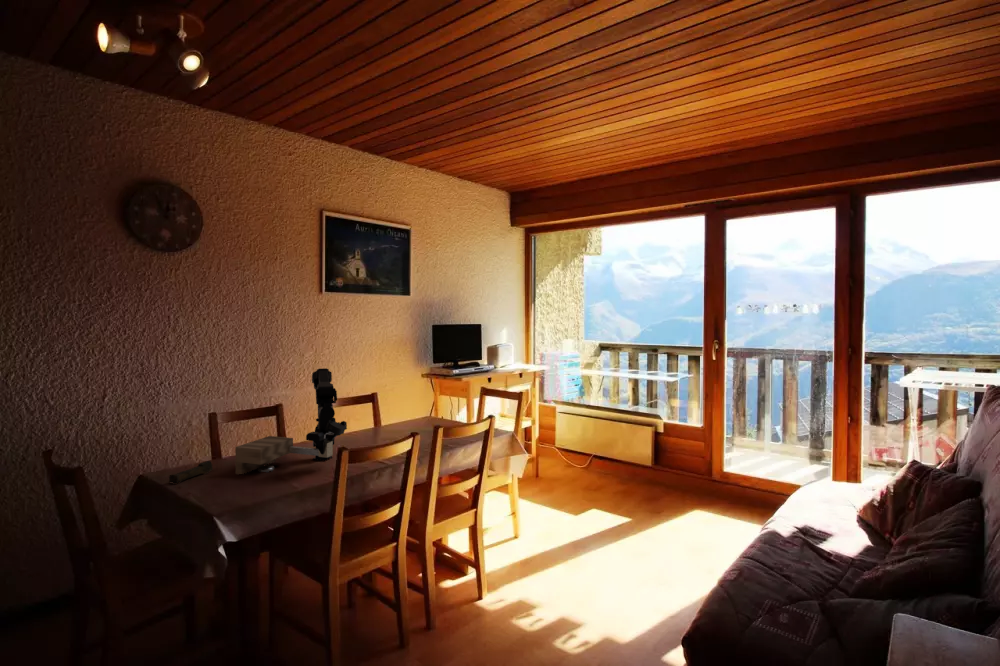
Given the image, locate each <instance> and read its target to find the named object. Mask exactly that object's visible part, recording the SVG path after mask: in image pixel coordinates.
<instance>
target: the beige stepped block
mask: <svg viewBox="0 0 1000 666" xmlns="http://www.w3.org/2000/svg"><path fill="white" fill-rule="evenodd" d="M291 446H294V437H284V436H275V435H268V436H265V437H262V438H259V439H256V440H253V441H250V442H247V443H243V444H240V445H238V446H237V445H236V446H235V453H234V454H235V475H239V474H243V475H245V474H248V473H250V472H253V471H255V470H258V469H257V468H259V467H261V466H264V465H265V466H267V464H268V465H270V464H272V462H273V463H275V462H276V459H278V458H281V457H284V456H287V455H290V454H291V453H290V447H291ZM269 463H270V464H269ZM252 470H253V471H252ZM249 471H250V472H249ZM247 472H248V473H247ZM244 473H245V474H244Z"/></svg>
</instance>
